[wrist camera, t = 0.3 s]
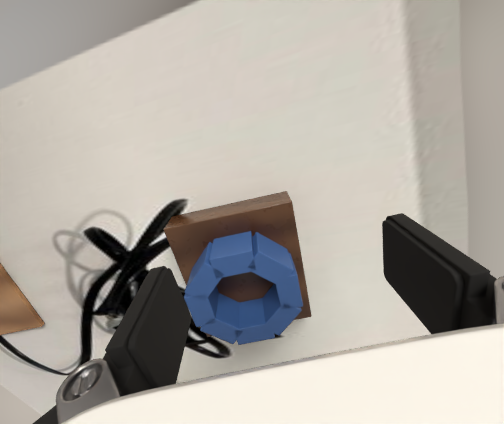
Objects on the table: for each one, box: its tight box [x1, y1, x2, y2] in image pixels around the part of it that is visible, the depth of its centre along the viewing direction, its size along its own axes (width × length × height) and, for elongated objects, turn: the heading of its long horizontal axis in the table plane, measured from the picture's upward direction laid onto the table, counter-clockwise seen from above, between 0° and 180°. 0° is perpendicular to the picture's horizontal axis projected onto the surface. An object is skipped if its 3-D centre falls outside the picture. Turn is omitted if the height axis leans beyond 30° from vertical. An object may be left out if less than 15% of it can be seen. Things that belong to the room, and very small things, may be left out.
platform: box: [164, 191, 311, 337], centre depth 27 cm, size 14×12×3 cm
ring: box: [184, 231, 303, 345], centre depth 24 cm, size 10×10×4 cm
